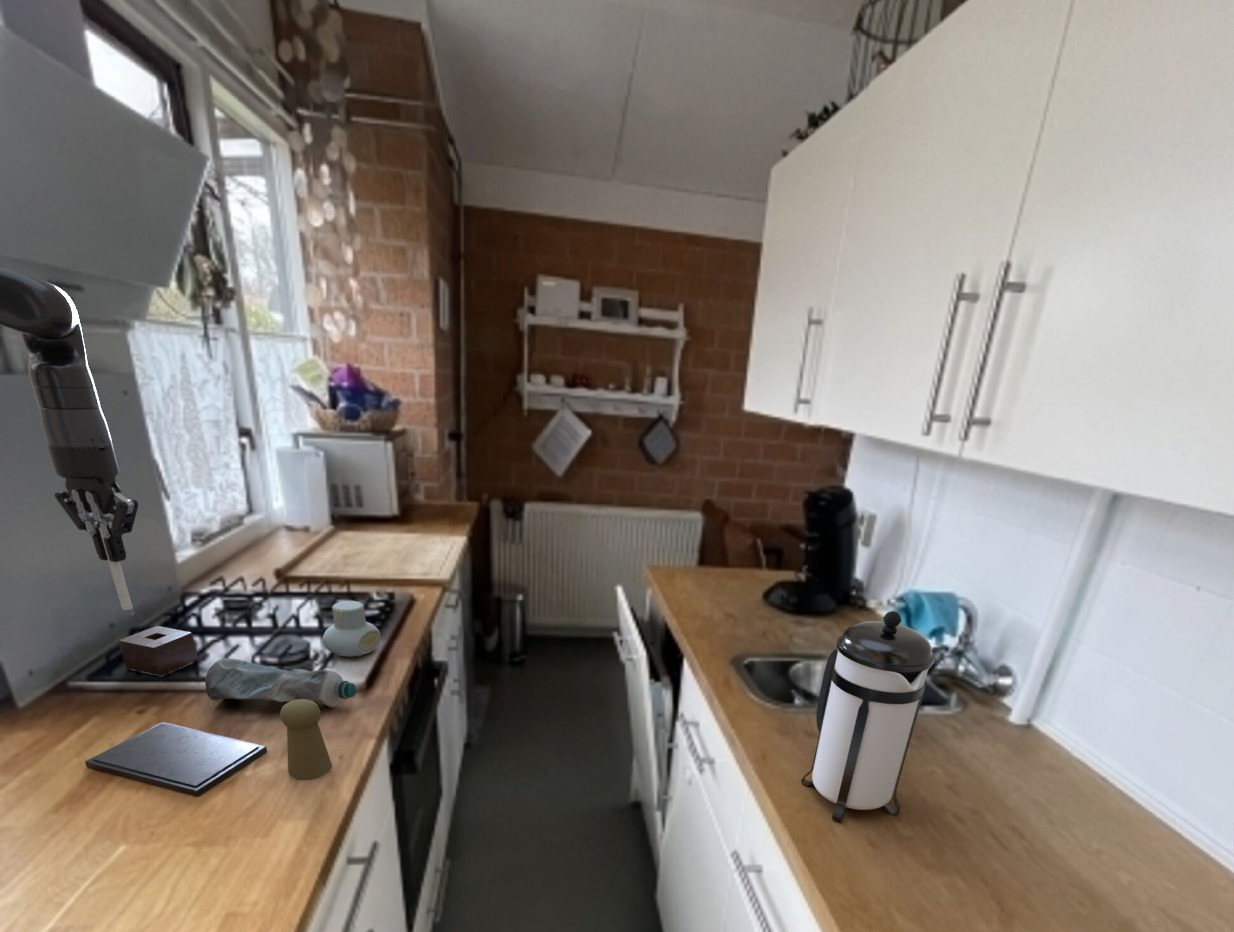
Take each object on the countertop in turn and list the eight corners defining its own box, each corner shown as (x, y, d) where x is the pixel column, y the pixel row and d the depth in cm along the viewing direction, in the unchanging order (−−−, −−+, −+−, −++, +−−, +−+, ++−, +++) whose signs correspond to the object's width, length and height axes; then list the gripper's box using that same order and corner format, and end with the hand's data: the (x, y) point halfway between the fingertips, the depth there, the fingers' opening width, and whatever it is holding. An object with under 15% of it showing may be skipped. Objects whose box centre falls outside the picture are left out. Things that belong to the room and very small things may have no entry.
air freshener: (354, 639, 149) (348, 594, 144) (387, 646, 147) (382, 600, 142) (318, 657, 140) (310, 610, 135) (353, 665, 137) (346, 617, 133)
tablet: (86, 767, 102) (83, 760, 101) (164, 726, 113) (162, 720, 112) (198, 796, 97) (196, 789, 96) (267, 751, 108) (266, 745, 108)
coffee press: (913, 790, 110) (966, 609, 96) (882, 841, 98) (938, 641, 84) (808, 753, 118) (844, 581, 104) (769, 795, 106) (803, 607, 92)
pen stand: (126, 670, 130) (117, 640, 127) (165, 654, 137) (157, 625, 134) (162, 678, 128) (153, 647, 125) (199, 661, 135) (192, 632, 132)
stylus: (121, 615, 112) (96, 527, 105) (129, 612, 113) (104, 525, 106) (128, 616, 111) (103, 528, 105) (136, 613, 113) (112, 526, 106)
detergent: (194, 709, 118) (333, 726, 115) (186, 669, 115) (328, 685, 112) (245, 683, 130) (372, 697, 127) (239, 646, 127) (369, 659, 124)
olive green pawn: (340, 766, 106) (330, 701, 101) (305, 784, 101) (293, 717, 96) (314, 753, 108) (303, 690, 103) (279, 770, 104) (265, 705, 99)
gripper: (15, 438, 98) (54, 560, 106) (92, 448, 95) (127, 572, 103) (67, 433, 105) (100, 548, 113) (141, 442, 102) (170, 559, 110)
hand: (113, 559), depth 108 cm, fingers closed on stylus, 1 cm apart
